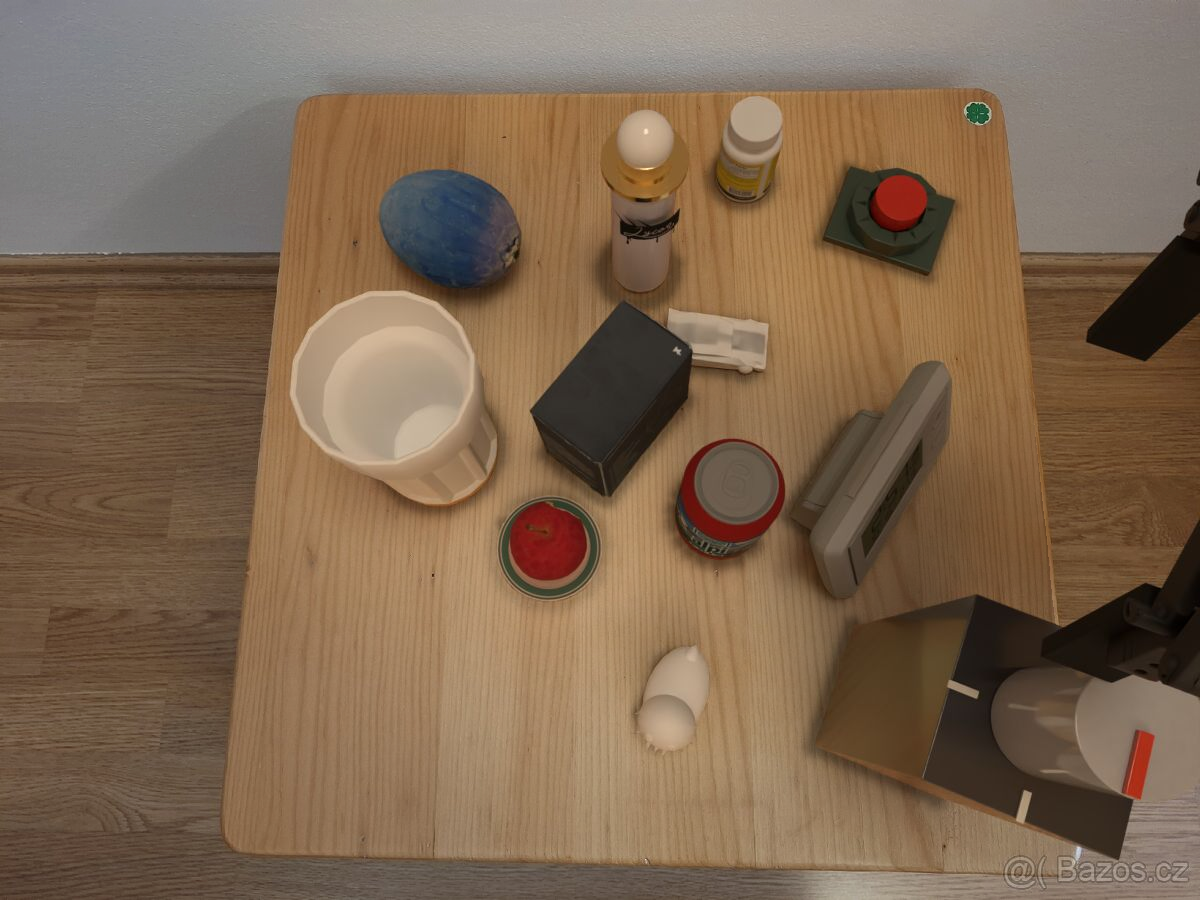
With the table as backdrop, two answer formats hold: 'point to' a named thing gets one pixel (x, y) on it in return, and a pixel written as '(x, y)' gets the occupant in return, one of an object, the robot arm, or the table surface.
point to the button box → (897, 247)
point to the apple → (549, 548)
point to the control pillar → (957, 717)
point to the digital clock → (874, 477)
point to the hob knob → (1099, 732)
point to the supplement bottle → (749, 149)
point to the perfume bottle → (643, 196)
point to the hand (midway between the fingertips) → (1086, 495)
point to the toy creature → (674, 699)
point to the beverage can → (728, 498)
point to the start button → (898, 203)
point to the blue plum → (450, 228)
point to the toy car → (722, 340)
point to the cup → (397, 396)
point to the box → (614, 397)
